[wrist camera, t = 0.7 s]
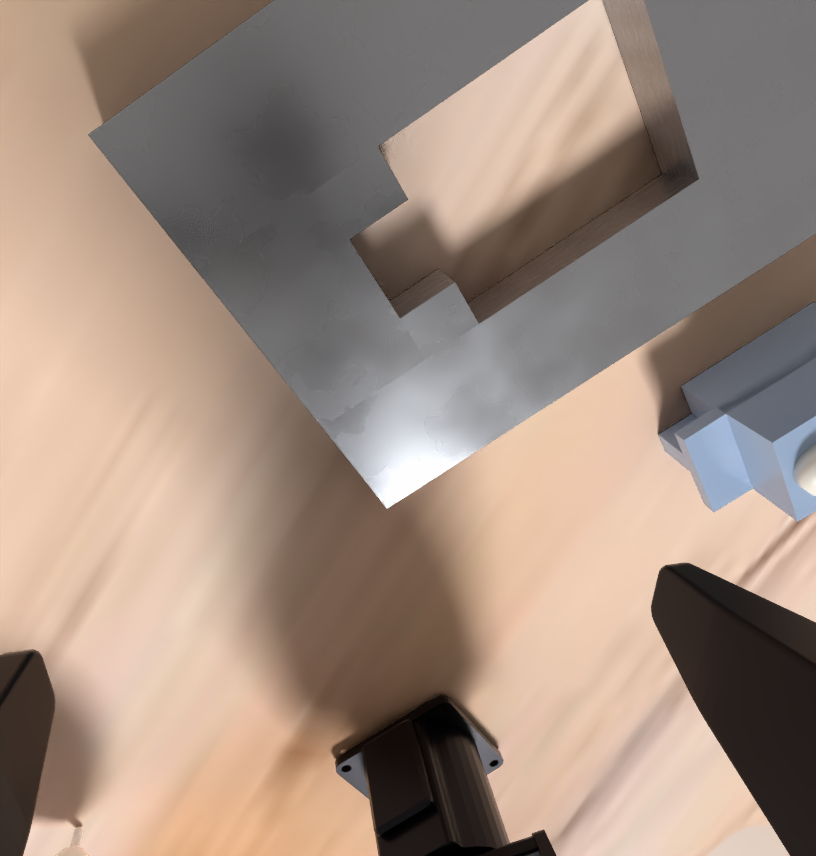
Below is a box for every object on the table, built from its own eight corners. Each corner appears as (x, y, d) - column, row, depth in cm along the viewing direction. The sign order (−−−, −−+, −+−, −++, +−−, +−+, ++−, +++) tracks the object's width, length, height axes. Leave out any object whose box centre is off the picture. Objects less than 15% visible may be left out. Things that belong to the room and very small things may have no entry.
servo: (868, 356, 26) (1010, 410, 21) (673, 477, 27) (767, 557, 22) (852, 277, 24) (1005, 315, 19) (643, 410, 25) (738, 480, 20)
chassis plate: (745, -328, 15) (806, -386, 14) (841, 180, 22) (891, 185, 20) (106, 133, 17) (87, 134, 15) (377, 480, 23) (386, 508, 22)
